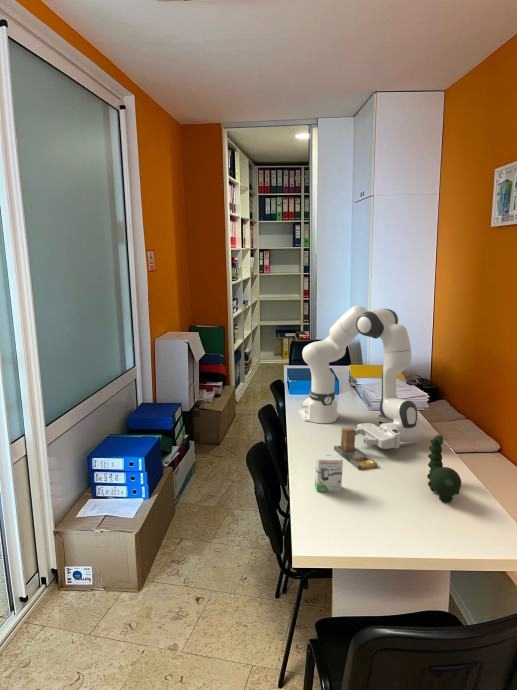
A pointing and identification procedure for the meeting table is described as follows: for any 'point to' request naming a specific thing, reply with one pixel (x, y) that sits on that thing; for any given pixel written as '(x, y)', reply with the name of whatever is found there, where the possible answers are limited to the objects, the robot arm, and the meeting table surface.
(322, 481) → the ink box
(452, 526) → the meeting table surface
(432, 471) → the toy figurine
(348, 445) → the walnut peg
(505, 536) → the meeting table surface
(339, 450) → the tray
